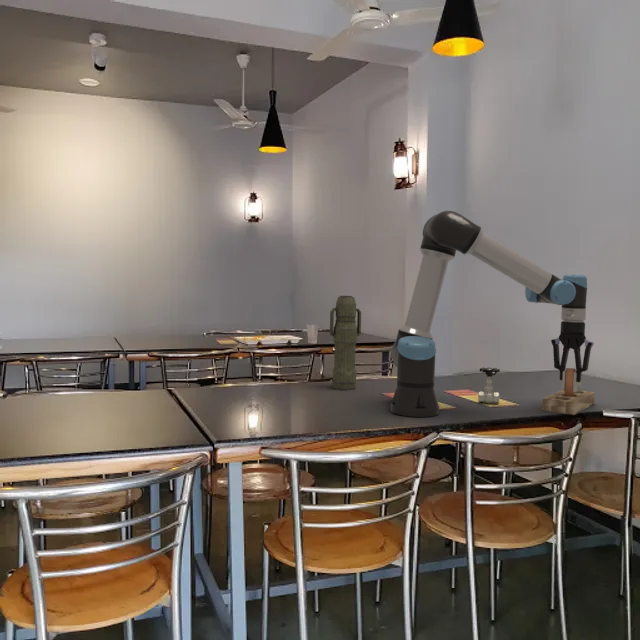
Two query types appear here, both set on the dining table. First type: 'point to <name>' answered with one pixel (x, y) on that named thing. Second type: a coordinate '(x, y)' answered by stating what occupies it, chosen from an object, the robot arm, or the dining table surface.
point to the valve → (489, 387)
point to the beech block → (568, 402)
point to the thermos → (345, 342)
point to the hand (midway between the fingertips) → (569, 390)
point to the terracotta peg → (569, 382)
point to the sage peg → (579, 386)
